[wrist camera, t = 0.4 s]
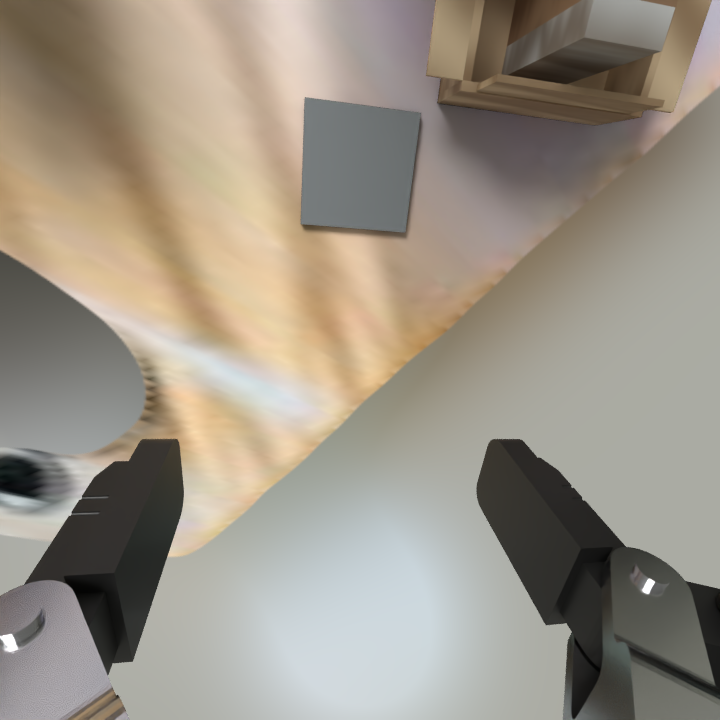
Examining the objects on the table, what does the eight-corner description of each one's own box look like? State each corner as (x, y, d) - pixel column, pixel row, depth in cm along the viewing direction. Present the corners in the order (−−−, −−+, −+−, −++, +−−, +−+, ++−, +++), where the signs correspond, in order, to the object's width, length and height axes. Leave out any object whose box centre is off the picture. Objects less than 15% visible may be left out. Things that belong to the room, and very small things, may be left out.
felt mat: (304, 98, 30) (304, 97, 30) (418, 114, 32) (420, 112, 31) (300, 223, 34) (300, 224, 33) (403, 231, 36) (405, 232, 35)
